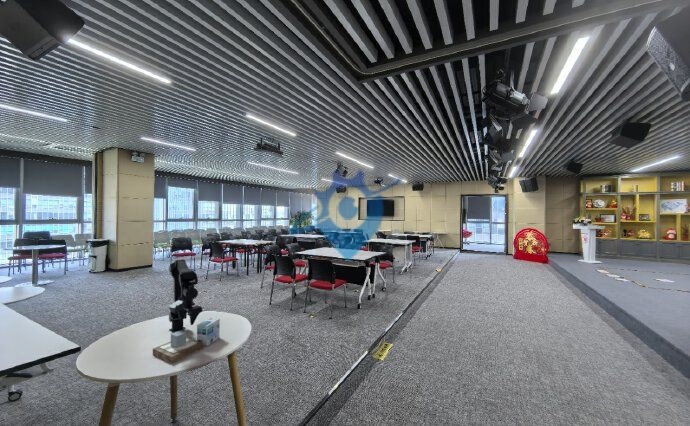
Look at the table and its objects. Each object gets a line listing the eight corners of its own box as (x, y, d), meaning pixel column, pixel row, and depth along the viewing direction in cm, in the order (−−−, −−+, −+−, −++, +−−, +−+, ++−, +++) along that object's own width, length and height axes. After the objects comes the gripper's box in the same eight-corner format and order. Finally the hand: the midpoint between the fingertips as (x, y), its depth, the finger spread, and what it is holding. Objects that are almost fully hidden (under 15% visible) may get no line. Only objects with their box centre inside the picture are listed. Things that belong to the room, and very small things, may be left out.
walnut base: (152, 354, 138) (152, 347, 138) (184, 341, 153) (184, 335, 153) (171, 363, 131) (171, 356, 131) (202, 348, 145) (202, 342, 145)
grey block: (170, 345, 141) (170, 334, 141) (180, 341, 145) (180, 330, 145) (176, 348, 138) (176, 336, 138) (186, 344, 143) (186, 332, 143)
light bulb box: (207, 346, 148) (207, 326, 148) (196, 344, 149) (196, 324, 149) (220, 337, 158) (220, 318, 158) (209, 336, 160) (209, 317, 159)
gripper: (161, 295, 146) (161, 324, 147) (182, 302, 137) (181, 333, 138) (182, 289, 156) (182, 317, 157) (203, 296, 147) (202, 325, 147)
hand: (186, 323), depth 149 cm, fingers open, 9 cm apart
